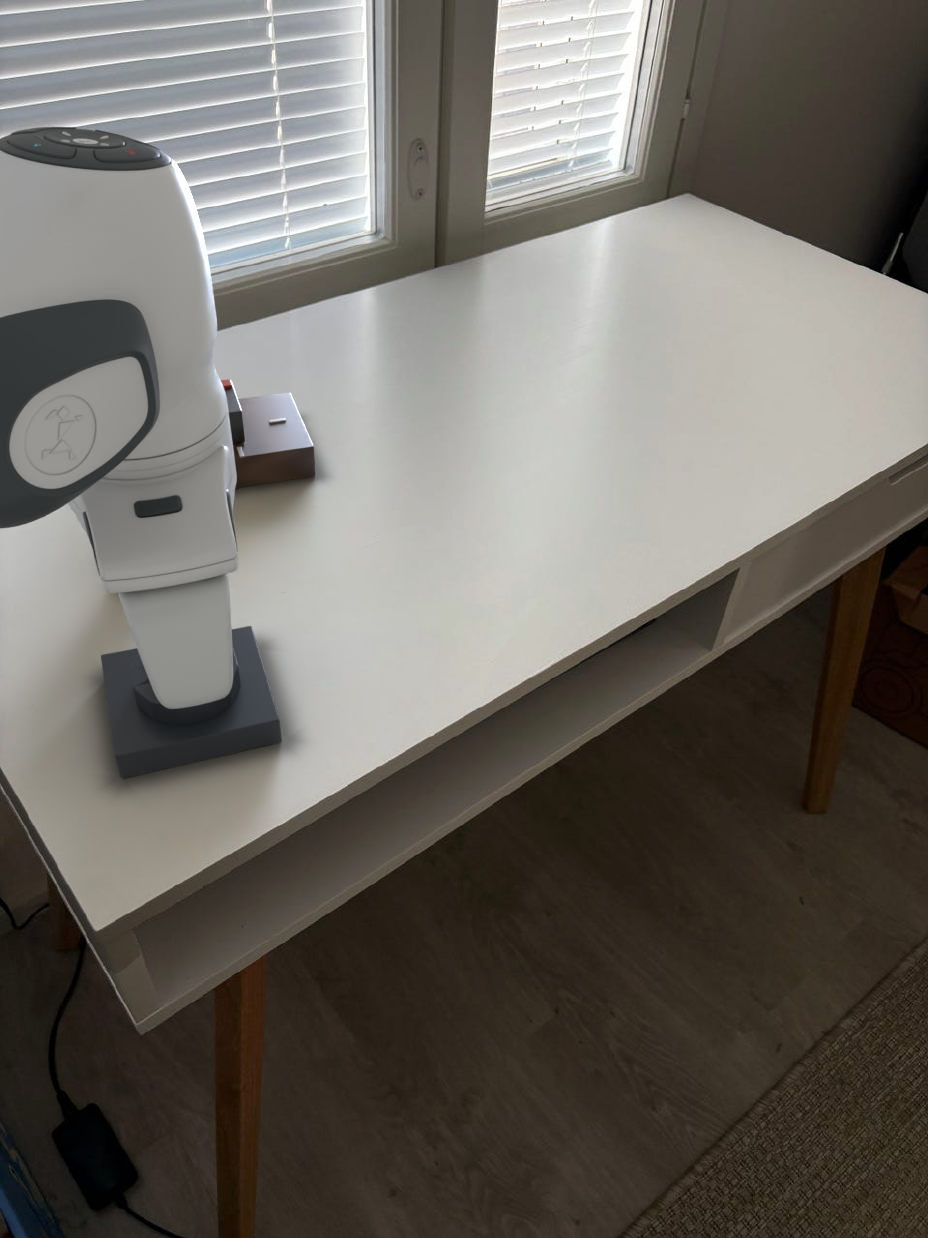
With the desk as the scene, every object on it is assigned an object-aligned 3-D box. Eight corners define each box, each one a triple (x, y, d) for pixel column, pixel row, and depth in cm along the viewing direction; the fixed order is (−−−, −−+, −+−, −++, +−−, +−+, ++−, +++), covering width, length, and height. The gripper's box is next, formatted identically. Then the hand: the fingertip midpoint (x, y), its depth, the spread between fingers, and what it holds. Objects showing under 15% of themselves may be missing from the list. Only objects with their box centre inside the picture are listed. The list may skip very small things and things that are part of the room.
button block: (120, 779, 62) (108, 737, 59) (106, 677, 68) (95, 635, 65) (282, 742, 65) (277, 700, 62) (254, 647, 71) (249, 605, 68)
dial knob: (245, 442, 84) (241, 408, 82) (228, 444, 84) (224, 410, 81) (235, 410, 87) (231, 377, 85) (218, 413, 87) (214, 379, 85)
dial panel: (172, 499, 83) (166, 467, 81) (157, 438, 89) (151, 407, 87) (315, 476, 86) (314, 445, 84) (291, 420, 92) (289, 389, 90)
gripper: (71, 369, 59) (116, 552, 68) (101, 593, 45) (152, 784, 55) (181, 355, 61) (210, 536, 70) (243, 568, 47) (268, 757, 56)
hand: (185, 646), depth 62 cm, fingers closed
